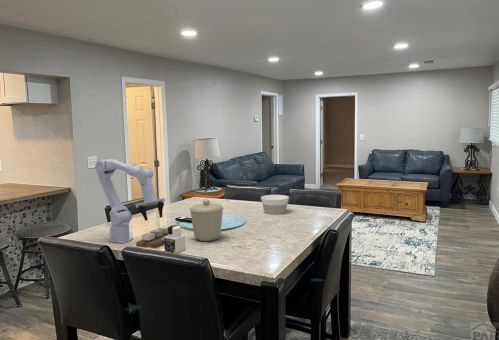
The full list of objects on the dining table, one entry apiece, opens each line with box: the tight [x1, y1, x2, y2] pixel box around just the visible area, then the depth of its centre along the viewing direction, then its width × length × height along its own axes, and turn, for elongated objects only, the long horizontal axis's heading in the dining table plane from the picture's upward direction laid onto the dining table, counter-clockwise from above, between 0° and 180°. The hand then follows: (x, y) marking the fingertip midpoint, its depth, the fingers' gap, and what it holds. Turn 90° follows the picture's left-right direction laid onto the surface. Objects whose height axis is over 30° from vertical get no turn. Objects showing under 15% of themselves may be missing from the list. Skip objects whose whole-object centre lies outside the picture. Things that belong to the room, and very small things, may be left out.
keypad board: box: [135, 233, 182, 249], centre depth 203 cm, size 12×22×2 cm, turn 157°
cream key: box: [141, 232, 155, 240], centre depth 197 cm, size 5×5×2 cm
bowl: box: [260, 194, 290, 216], centre depth 266 cm, size 19×19×11 cm
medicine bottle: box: [163, 224, 186, 254], centre depth 186 cm, size 7×7×12 cm
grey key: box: [149, 228, 163, 237], centre depth 203 cm, size 5×5×2 cm
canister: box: [188, 198, 225, 242], centre depth 204 cm, size 18×18×21 cm
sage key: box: [157, 225, 169, 233], centre depth 209 cm, size 5×5×2 cm
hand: (153, 218), depth 194 cm, fingers open, 7 cm apart
